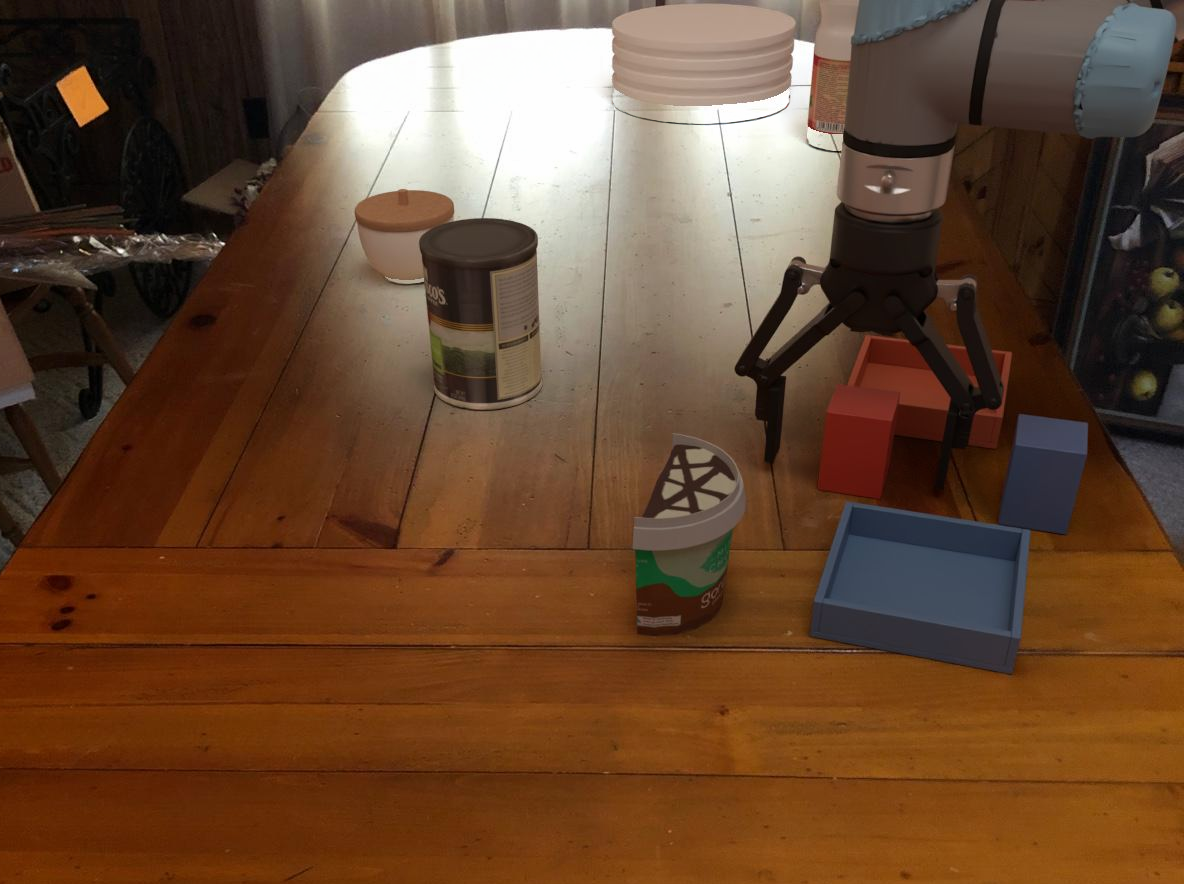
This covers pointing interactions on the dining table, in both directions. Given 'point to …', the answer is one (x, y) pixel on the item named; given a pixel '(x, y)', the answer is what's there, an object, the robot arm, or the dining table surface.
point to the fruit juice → (832, 66)
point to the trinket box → (400, 229)
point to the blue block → (1043, 473)
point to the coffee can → (483, 312)
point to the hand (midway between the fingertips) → (854, 467)
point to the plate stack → (702, 54)
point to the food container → (686, 538)
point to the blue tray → (924, 586)
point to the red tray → (924, 388)
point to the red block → (858, 441)
